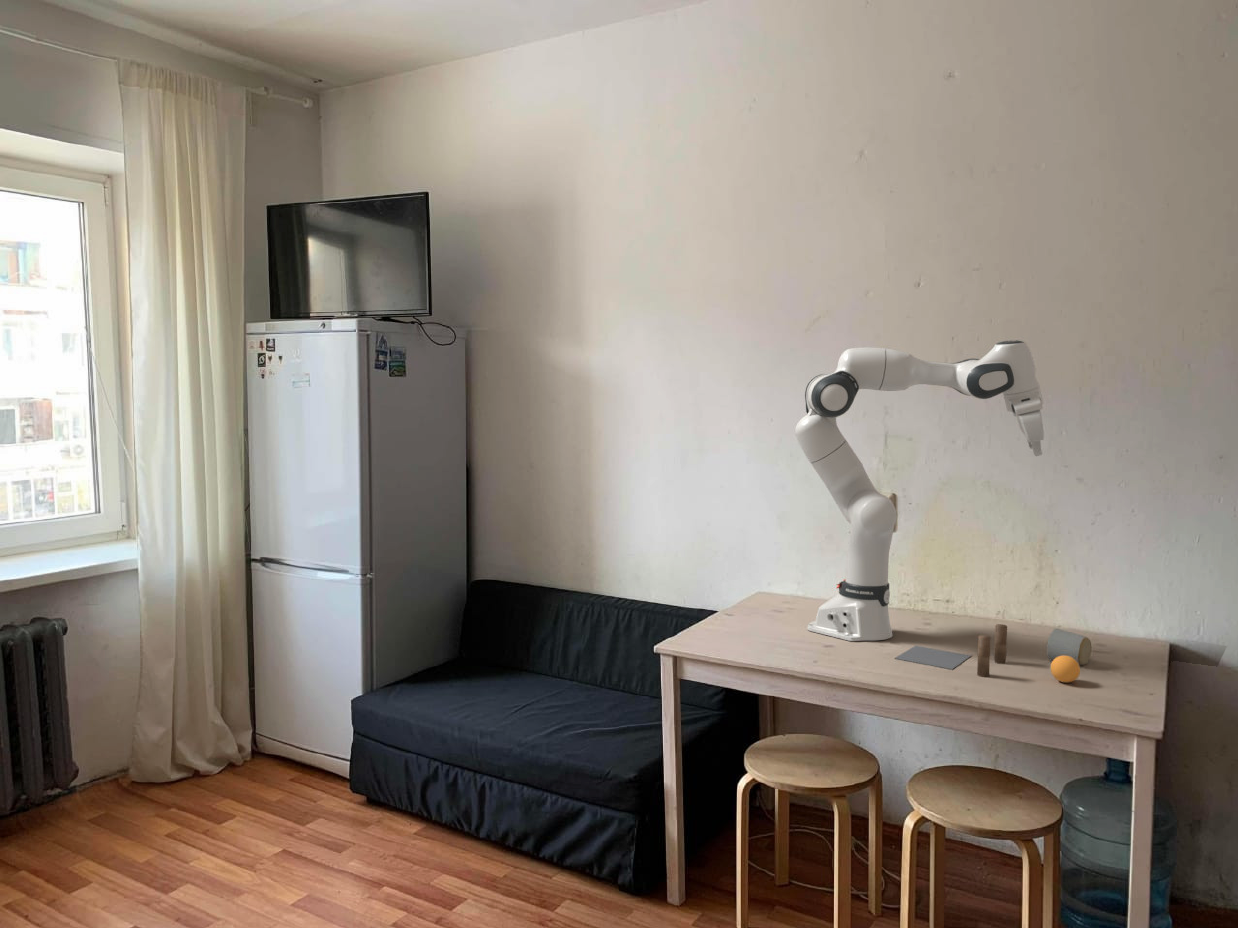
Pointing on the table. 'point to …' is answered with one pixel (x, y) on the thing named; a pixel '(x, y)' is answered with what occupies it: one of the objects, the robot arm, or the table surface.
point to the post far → (1000, 643)
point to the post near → (983, 656)
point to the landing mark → (933, 657)
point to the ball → (1065, 669)
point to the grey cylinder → (1069, 646)
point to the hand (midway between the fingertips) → (1035, 451)
